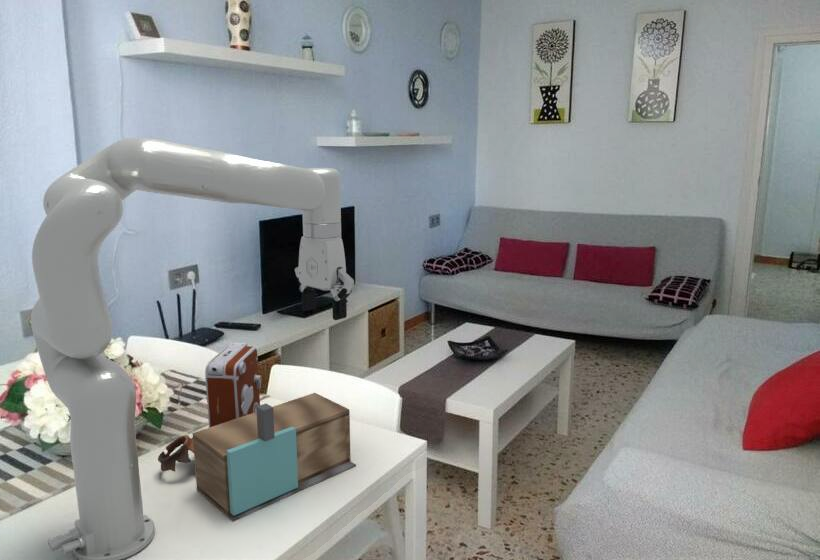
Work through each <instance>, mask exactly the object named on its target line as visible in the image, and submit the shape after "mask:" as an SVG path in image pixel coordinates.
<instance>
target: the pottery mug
mask: <svg viewBox="0 0 820 560" xmlns="http://www.w3.org/2000/svg"><path fill="white" fill-rule="evenodd" d="M177 448H178V449H177ZM176 449H177V450H176ZM165 450H167V452H166V453H165V452H164V451H161V453H160V454H159V455H158V458H157V461H158V462H159V463H160V470H161V471H162V472H167V471H172V472H175V473H176V463H184V464H188V463H190V462H191V459H190V455H189V451H190V452H192V453H193V454H194V446H193V436H192V437H190V436H189V435H188V434H184V435H180V436H179V437H178V438H175V439H174V440H173V441H172V442H170V443H169V444H167V446H166V447H165ZM175 450H176V451H175ZM174 451H175V452H174Z"/></svg>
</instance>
